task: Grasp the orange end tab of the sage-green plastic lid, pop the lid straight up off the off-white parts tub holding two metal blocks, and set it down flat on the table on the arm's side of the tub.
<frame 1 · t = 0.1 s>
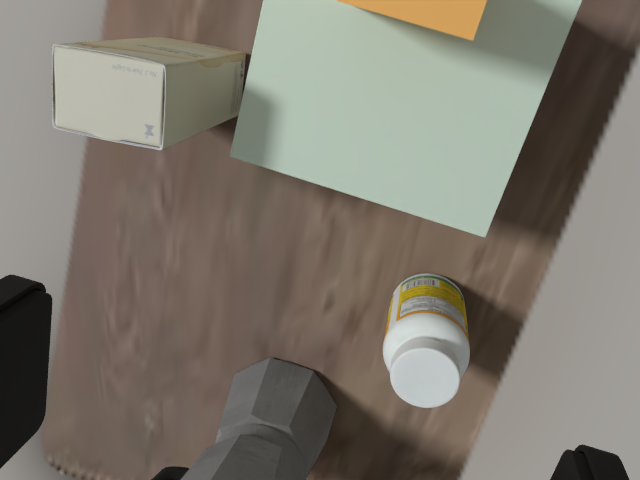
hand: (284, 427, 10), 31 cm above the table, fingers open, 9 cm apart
supplement bottle: (427, 304, 43), on the table
lid: (391, 80, 31), point 7 cm above the table, touching tub
coffeepot: (269, 404, 48), on the table
skincare box: (200, 77, 40), on the table
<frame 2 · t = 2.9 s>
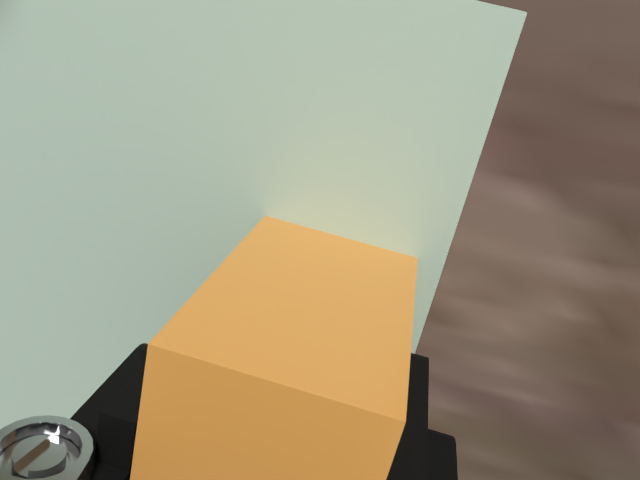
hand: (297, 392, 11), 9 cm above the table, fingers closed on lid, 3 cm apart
lid: (119, 295, 13), point 7 cm above the table, touching gripper, tub
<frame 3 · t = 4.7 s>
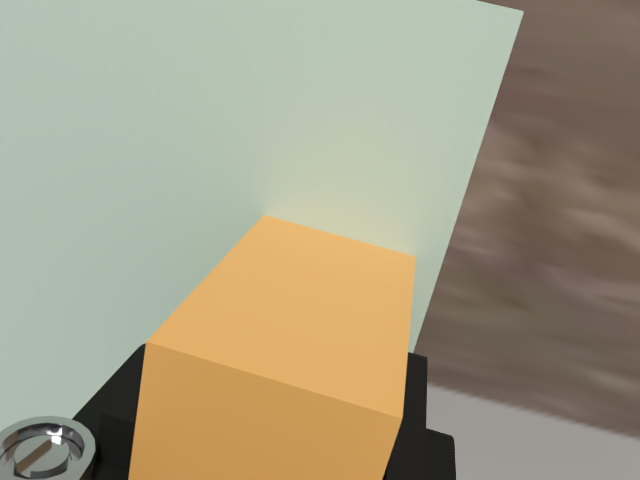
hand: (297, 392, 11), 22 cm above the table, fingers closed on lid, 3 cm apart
lid: (119, 295, 13), point 21 cm above the table, touching gripper
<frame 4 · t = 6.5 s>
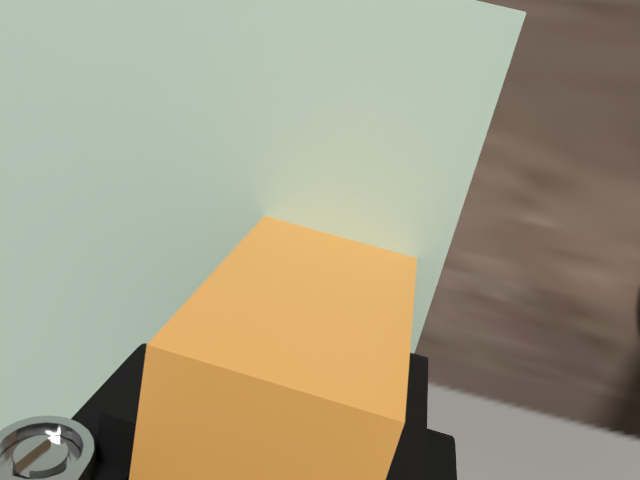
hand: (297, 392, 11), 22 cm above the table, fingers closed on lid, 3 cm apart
lid: (119, 296, 13), point 20 cm above the table, touching gripper
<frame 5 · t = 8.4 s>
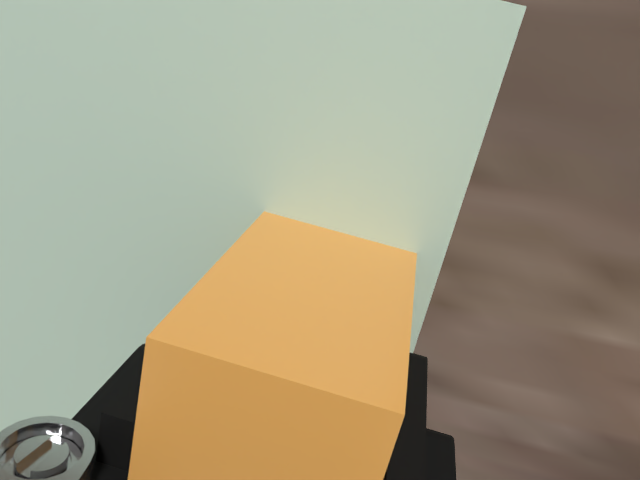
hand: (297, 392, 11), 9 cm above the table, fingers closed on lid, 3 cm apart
lid: (119, 292, 13), point 8 cm above the table, touching gripper
when the fingers open (4 cm above the table, at t = 10.2 s): lid drops 2 cm, point 1 cm above the table.
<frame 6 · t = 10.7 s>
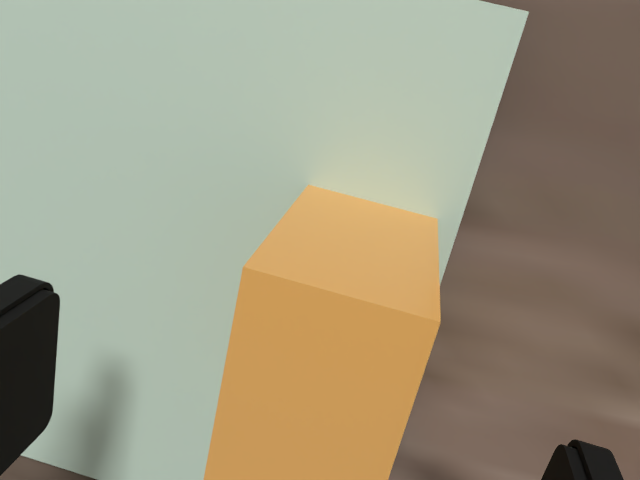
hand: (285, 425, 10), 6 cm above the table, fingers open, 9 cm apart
lid: (177, 258, 15), point 1 cm above the table
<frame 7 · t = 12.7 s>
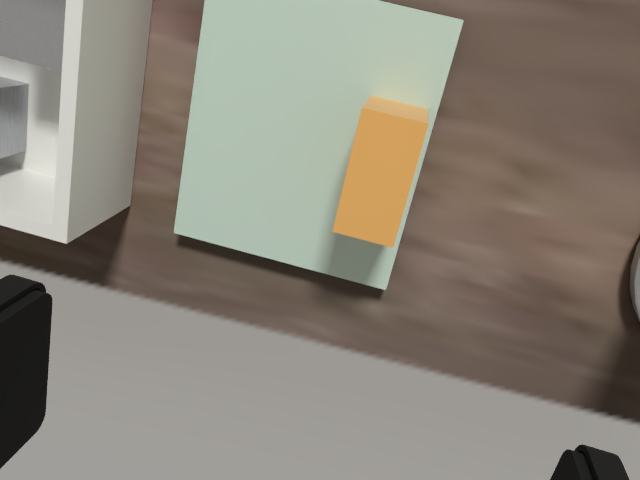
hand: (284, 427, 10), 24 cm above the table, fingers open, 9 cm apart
tub: (46, 67, 34), on the table
lid: (306, 135, 33), point 1 cm above the table
part a: (82, 24, 32), point 1 cm above the table, touching tub
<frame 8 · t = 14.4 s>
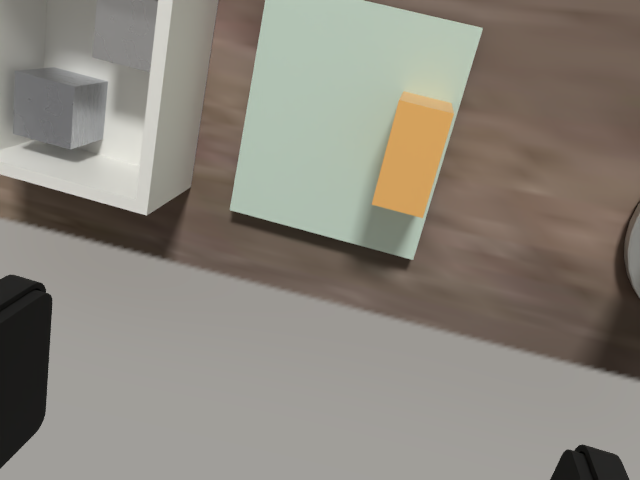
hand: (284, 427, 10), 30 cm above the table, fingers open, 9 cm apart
tub: (122, 67, 40), on the table
part b: (78, 103, 41), point 1 cm above the table, touching tub
lid: (346, 125, 38), point 1 cm above the table
part a: (156, 30, 38), point 1 cm above the table, touching tub
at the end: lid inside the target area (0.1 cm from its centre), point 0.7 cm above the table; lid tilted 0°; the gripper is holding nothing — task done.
